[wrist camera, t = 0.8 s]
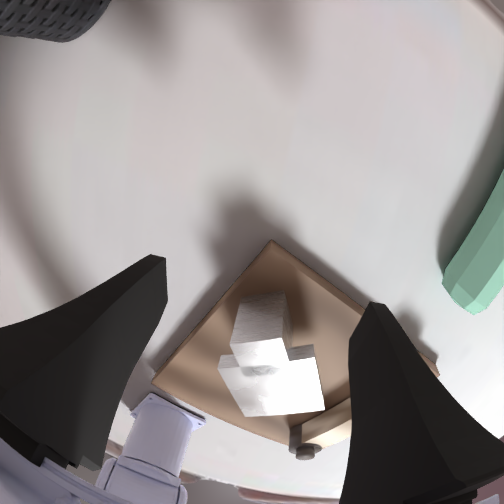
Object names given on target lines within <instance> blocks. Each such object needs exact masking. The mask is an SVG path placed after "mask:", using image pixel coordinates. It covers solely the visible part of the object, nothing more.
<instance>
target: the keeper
mask: <svg viewBox="0 0 504 504" xmlns="http://www.w3.org/2000/svg"><path fill="white" fill-rule="evenodd" d="M292 342H293V323H292V319H291V315H290V311H289V308H288V304H287V300H286V296H285V293H284V290H281V291H275V292H270V293H264V294H258V295H252V296H246V297H241V301H240V305H239V309H238V313H237V317H236V320H235V324H234V328H233V332H232V336H231V340H230V344H229V345H230V347H231V349H232V351H233V353H234V354H231V355H221V357H220V361H219V364H218V368H217V369H218V371H219V373H220V375H221V376H222V378H223V380H224V382H225V383H226V385H227V387H228V389H229V390H230V392H231V394H232V396H233V397H234V399H235V401H236V402H237V404H238V406H239V407H240V409H241V411H242V412H243V414H244V416H245V417H253V416H271V415H284V414H294V413H303V412H311V411H319V410H325V408H324V395H323V390H322V384H321V379H320V374H319V369H318V364H317V359H316V354H315V349H314V344H309V345H303V346H296V347H292Z"/></svg>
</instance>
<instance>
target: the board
mask: <svg viewBox="0 0 504 504" xmlns="http://www.w3.org/2000/svg"><path fill="white" fill-rule="evenodd" d="M281 290H284V293H285V296H286V300H287V304H288V308H289V311H290V315H291V319H292V323H293V342H292V347H296V346H303V345H309V344H314V349H315V354H316V359H317V364H318V369H319V374H320V379H321V384H322V390H323V395H324V408H325V410H319V411H311V412H303V413H294V414H284V415H271V416H253V417H245V416H244V414H243V412H242V411H241V409H240V407H239V406H238V404H237V402H236V401H235V399H234V397H233V396H232V394H231V392H230V390H229V389H228V387H227V385H226V383H225V382H224V380H223V378H222V376H221V375H220V373H219V371H218V369H217V368H218V364H219V361H220V357H221V355H231V354H234V353H233V351H232V349H231V347H230V345H229V344H230V340H231V336H232V332H233V328H234V324H235V320H236V317H237V313H238V309H239V305H240V301H241V297H246V296H252V295H258V294H264V293H270V292H275V291H281ZM364 312H365V309H364V308H362V307H361V306H360V305H359V304H357V303H356V302H355V301H353V300H352V299H351V298H349V297H348V296H347V295H345V294H344V293H343V292H341V291H340V290H339V289H337V288H336V287H335V286H333V285H332V284H331V283H330V282H328V281H327V280H326V279H324V278H323V277H322V276H320V275H319V274H318V273H316V272H315V271H313V270H312V269H311V268H309V267H308V266H307V265H305V264H304V263H303V262H301V261H300V260H299V259H297V258H296V257H295V256H293V255H292V254H291V253H289V252H288V251H286V250H285V249H284V248H282V247H281V246H280V245H278V244H277V243H276V242H274V241H273V240H271V241H270V242H269V243H268V244H267V245H266V247H265V248H264V249H263V250H262V251H261V252H260V254H259V255H258V256H257V257H256V258H255V259H254V261H253V262H252V263H251V264H250V265H249V266H248V268H247V269H246V270H245V271H244V272H243V273H242V274H241V276H240V277H239V278H238V279H237V280H236V281H235V283H234V284H233V285H232V286H231V287H230V288H229V290H228V291H227V292H226V293H225V294H224V295H223V296H222V298H221V299H220V300H219V301H218V302H217V303H216V305H215V306H214V307H213V308H212V309H211V310H210V311H209V313H208V314H207V315H206V316H205V317H204V318H203V320H202V321H201V322H200V323H199V324H198V325H197V326H196V328H195V329H194V330H193V331H192V332H191V333H190V334H189V336H188V337H187V338H186V339H185V340H184V341H183V343H182V344H181V345H180V346H179V347H178V348H177V349H176V351H175V352H174V353H173V354H172V355H171V356H170V357H169V359H168V360H167V361H166V362H165V363H164V364H163V365H162V367H161V368H160V369H159V370H158V371H157V372H156V374H155V376H154V378H153V380H152V382H151V384H153V385H155V386H157V387H158V388H160V389H162V390H164V391H165V392H167V393H169V394H171V395H173V396H174V397H176V398H178V399H180V400H182V401H184V402H186V403H188V404H190V405H192V406H194V407H196V408H198V409H200V410H202V411H204V412H206V413H208V414H210V415H212V416H214V417H216V418H219V419H221V420H223V421H225V422H228V423H230V424H232V425H235V426H237V427H239V428H242V429H244V430H247V431H249V432H252V433H254V434H257V435H260V436H262V437H265V438H268V439H270V440H273V441H276V442H279V443H282V444H285V445H288V446H289V434H290V429H291V428H292V427H294V426H297V425H301V424H304V423H306V422H307V421H309V420H311V419H313V418H315V417H317V416H319V415H321V414H322V413H324V412H326V411H328V410H330V409H331V408H333V407H335V406H337V405H338V404H340V403H342V402H343V401H345V400H347V399H348V398H350V385H349V372H348V349H349V339H350V337H351V335H352V333H353V332H354V330H355V328H356V326H357V324H358V323H359V321H360V319H361V317H362V315H363V313H364ZM417 351H418V350H417ZM418 352H419V351H418ZM419 354H420V355H421V357H422V358H423V360H424V361H425V362H426V364H427V365H428V366H429V368H430V369H431V371H432V372H433V373H434V375H435V376H436V377H438V376H440V374H439V371H438V369H437V367H436V365H435V364H434V363H433V362H432V361H430V360H429V359H428V358H427V357H425V356H424V355H423V354H422V353H420V352H419Z"/></svg>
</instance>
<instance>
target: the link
mask: <svg viewBox="0 0 504 504" xmlns="http://www.w3.org/2000/svg"><path fill="white" fill-rule="evenodd" d="M351 427H352V416H351V399H350V398H348V399H347V400H345V401H343V402H342V403H340V404H338V405H337V406H335V407H333V408H331V409H330V410H328V411H326V412H324V413H322V414H321V415H319V416H317V417H315V418H313V419H311V420H309V421H307V422H306V423H304V424H301V425H297V426H294V427H292V428H291V429H290V434H289V452H291V453H293V454H296V458H297V459H299V460H309V459H312V458H314V457H315V453H317V452H319V451H321V450H322V449H324V448H326V447H329V446H331V445H333V444H335V443H337V442H340V441H342V440H344V439H346V438H348V437H350V436H351Z"/></svg>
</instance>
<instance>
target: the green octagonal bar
mask: <svg viewBox="0 0 504 504" xmlns="http://www.w3.org/2000/svg"><path fill="white" fill-rule="evenodd" d="M442 285H443V286H444V288H445V289H446V290H447V292H448V293H449V295H450V296H451V298H452V299H453V300H454V302H455V303H456V304H458V305H459V306H460V307H462V308H463V309H465V310H466V311H468V312H470V313H471V314H473V315H475V314H477V313H479V312H481V311H483V310H484V309H486V308H487V307H488V306H489V305H490V303H491V302H492V301H493V299H494V298H495V297H496V295H497V294H498V293H499V291H500V290H501V288H502V287H503V286H504V169H503V171H502V173H501V176H500V178H499V180H498V182H497V184H496V186H495V188H494V190H493V192H492V194H491V196H490V198H489V199H488V201H487V203H486V205H485V207H484V209H483V210H482V212H481V214H480V216H479V217H478V219H477V221H476V223H475V224H474V226H473V228H472V229H471V231H470V232H469V234H468V236H467V237H466V239H465V240H464V242H463V244H462V245H461V247H460V248H459V250H458V251H457V253H456V254H455V256H454V257H453V259H452V260H451V262H450V263H449V264H448V266H447V267H446V269H445V273H444V277H443V281H442Z"/></svg>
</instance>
